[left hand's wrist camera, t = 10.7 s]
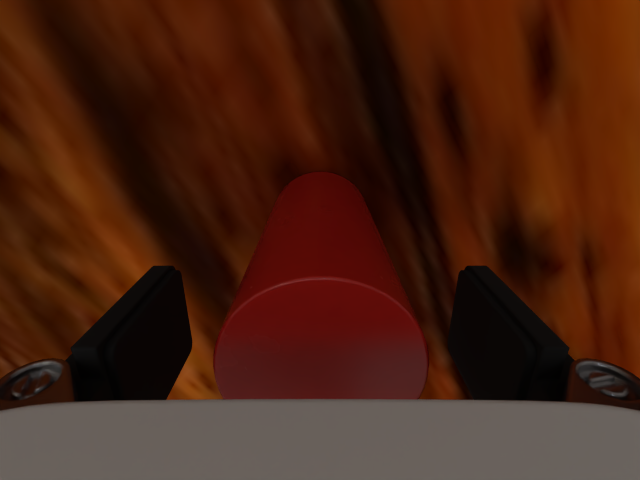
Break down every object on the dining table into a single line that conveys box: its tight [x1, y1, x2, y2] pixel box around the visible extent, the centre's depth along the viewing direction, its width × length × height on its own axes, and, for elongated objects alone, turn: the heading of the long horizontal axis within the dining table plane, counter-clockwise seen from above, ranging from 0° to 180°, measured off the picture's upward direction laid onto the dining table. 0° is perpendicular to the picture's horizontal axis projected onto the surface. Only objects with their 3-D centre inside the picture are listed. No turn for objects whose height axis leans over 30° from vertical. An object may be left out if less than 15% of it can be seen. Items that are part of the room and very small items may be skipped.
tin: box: [213, 172, 429, 400], centre depth 14 cm, size 5×5×12 cm
